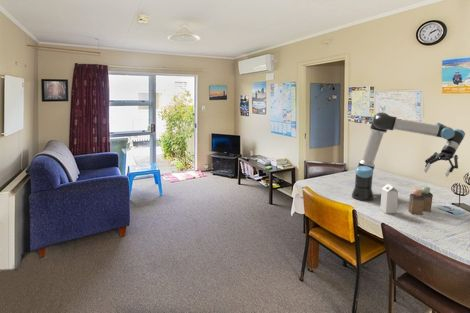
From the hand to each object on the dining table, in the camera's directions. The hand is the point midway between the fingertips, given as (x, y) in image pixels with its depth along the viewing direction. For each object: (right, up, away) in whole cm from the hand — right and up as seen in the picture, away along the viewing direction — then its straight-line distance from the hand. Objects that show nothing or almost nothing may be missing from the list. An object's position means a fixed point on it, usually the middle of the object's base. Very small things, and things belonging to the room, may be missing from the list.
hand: (435, 173), depth 195 cm
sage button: (-8, -13, -2) cm, 16 cm away
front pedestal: (-17, -26, -5) cm, 31 cm away
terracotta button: (-17, -14, -7) cm, 23 cm away
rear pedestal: (-8, -25, 0) cm, 26 cm away
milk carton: (-33, -26, -2) cm, 42 cm away
